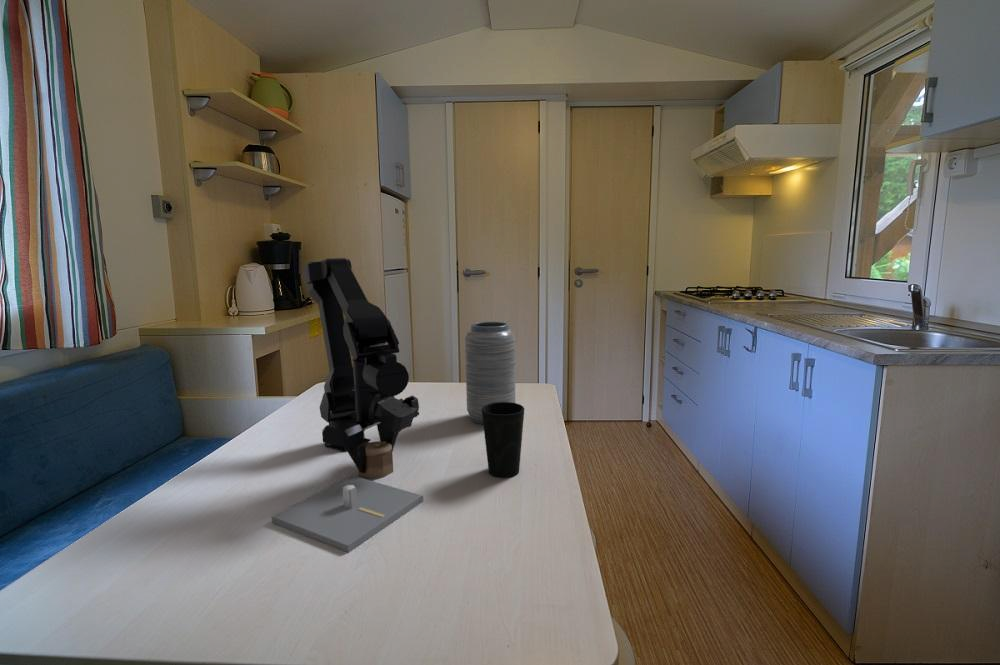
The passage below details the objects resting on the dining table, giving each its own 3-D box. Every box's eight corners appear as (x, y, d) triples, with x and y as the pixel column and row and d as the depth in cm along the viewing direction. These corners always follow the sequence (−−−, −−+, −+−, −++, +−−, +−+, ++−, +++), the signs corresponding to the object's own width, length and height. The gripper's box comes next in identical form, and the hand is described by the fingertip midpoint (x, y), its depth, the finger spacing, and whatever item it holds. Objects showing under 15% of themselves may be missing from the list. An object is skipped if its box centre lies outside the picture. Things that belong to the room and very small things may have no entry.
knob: (376, 481, 90) (375, 455, 89) (351, 473, 93) (349, 449, 92) (399, 467, 95) (398, 443, 94) (375, 461, 98) (373, 437, 97)
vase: (524, 416, 124) (523, 322, 120) (498, 430, 114) (497, 329, 110) (484, 408, 130) (483, 319, 126) (457, 421, 120) (454, 325, 117)
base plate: (272, 522, 77) (269, 497, 76) (351, 480, 90) (350, 459, 90) (348, 552, 69) (346, 524, 68) (423, 501, 82) (422, 478, 82)
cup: (494, 484, 88) (493, 417, 86) (476, 468, 95) (474, 405, 93) (532, 474, 91) (532, 410, 90) (512, 459, 98) (511, 399, 96)
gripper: (366, 403, 79) (371, 497, 82) (438, 377, 95) (441, 456, 98) (317, 394, 85) (323, 482, 87) (392, 370, 101) (396, 445, 103)
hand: (375, 465), depth 94 cm, fingers closed on knob, 6 cm apart
